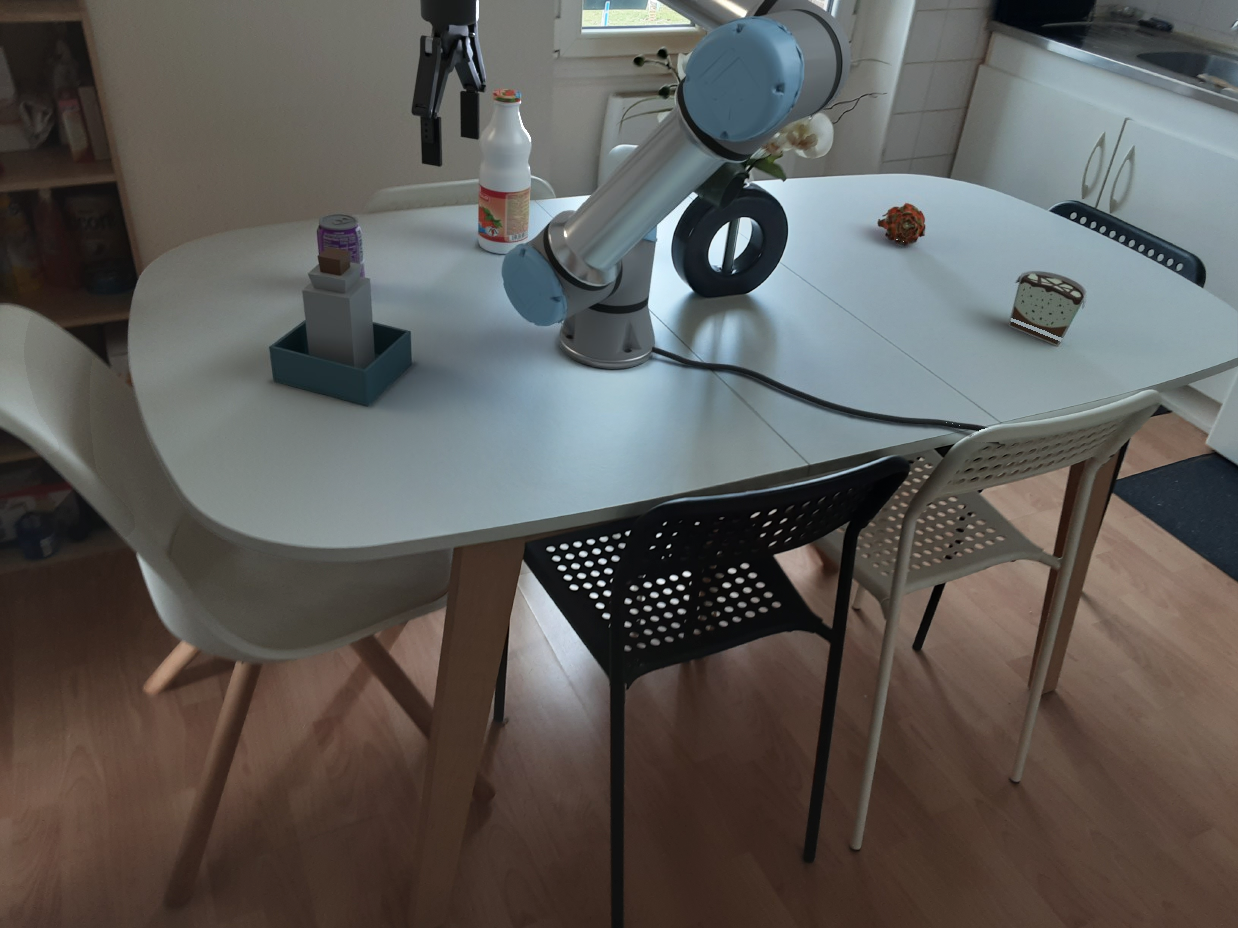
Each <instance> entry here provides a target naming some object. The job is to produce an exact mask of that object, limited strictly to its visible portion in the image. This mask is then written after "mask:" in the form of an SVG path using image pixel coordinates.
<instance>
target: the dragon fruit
mask: <svg viewBox="0 0 1238 928" xmlns="http://www.w3.org/2000/svg"><path fill="white" fill-rule="evenodd" d="M881 217H884V218H882V219H881V218H878V219H877V227H879V228H883V229H884V230H886V232H885V233H884V236H885V238H887V240H889V241H895V243H896V244H899V245H901V246H907V245H908V244H909V245H910V244H911V245H913V244H915V243H917V242H918V240H919V238H922V237H925V236H926V224H925V222H926V218H925V215H924V213H923V211H922V210H919V208H918V207H916V206H915V205H914V204H912V203H909V202H905V203H904V204H903V205H902V206H893V207H890V208H889V209H888V210H887V212H885V213H883V215H882V216H881ZM896 239H898V240H896ZM903 241H904V242H903Z"/></svg>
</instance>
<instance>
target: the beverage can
mask: <svg viewBox="0 0 1238 928" xmlns="http://www.w3.org/2000/svg"><path fill="white" fill-rule="evenodd" d="M316 239H317V240H316V241H317V252H318V255H319V254H320V253H322V252H323V251H324V250H325V249H326V248H327V247H331V248H337V249H343V250H348V251H351V252H350V262H351V263H357V264H362V269H361V273H360V277H365V278H366V273H365V271H366V270H365V257H364V243H363V241H364V240H363V231H362V228H361V226H360V225H359V219H358V217H356V216H354V215H351V214H348V213H329V214H326V215H325V214H324V215H323V216H321V217H320V218H319V219H318V226H317V228H316Z"/></svg>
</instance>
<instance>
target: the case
mask: <svg viewBox="0 0 1238 928" xmlns="http://www.w3.org/2000/svg"><path fill="white" fill-rule="evenodd" d="M373 336H374V352H375V360H374V361H373V362H372V363H371V364H370V365H369V366H368V367H366V368H365V369H360V368H357V367H353V366H349V365H345V364H341V363H337V362H333V361H329V360H326V359H322V358H318V357H314V356H310V355H309V349H308V340H307V330H306V321H305V319H304V320H302V321H301V322H300V323H299V324H298V325H296V326H294V328H292V329H291V330H290V331H288V332H287V333H285V334H284V335H283V336H282V337H280V338H279V339H277V340H276V341H274V343H272V344H270V345H269V346H268V351H269V358H270V365H271V373H272V378H273V379H272V381H273V382H275V383H278V384H283V385H286V386H290V387H294V388H297V389H300V390H301V389H302V390H306V391H309V392H313V393H316V394H320V395H324V396H328V397H331V398H335V399H339V400H343V401H347V402H350V403H354V404H358V405H360V406H361V405H362V406H364V407H369V406H370V405H371V404H372V403H373V402H374V401H375V400H377V398H378V397H380V396H381V394H383V393H384V392H385V391H386V390H387V389H388V388H389V387H390V386H391V385H392V384H393V383H395V381H396V380H397V379H398V378H399V377H400V376H401V375H403V374H404V373H405V372H406V371H407V370H408V369H409V368H410V367H411V366H412V365H413V358H412V357H413V356H412V331H411V330H407V329H404V328H399V327H396V326H392V325H387V324H383V323H381V322H376V321H373Z"/></svg>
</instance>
